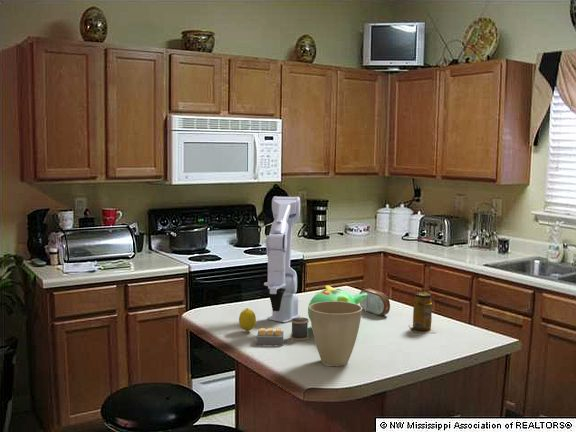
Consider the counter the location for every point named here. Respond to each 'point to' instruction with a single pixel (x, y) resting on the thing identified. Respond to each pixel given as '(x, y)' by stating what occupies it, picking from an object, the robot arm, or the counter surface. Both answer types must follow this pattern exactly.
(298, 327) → the cord spool
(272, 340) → the breaker strip
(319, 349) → the plant pot
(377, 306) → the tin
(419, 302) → the condiment
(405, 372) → the counter surface
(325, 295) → the green toy teapot
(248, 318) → the lemon
